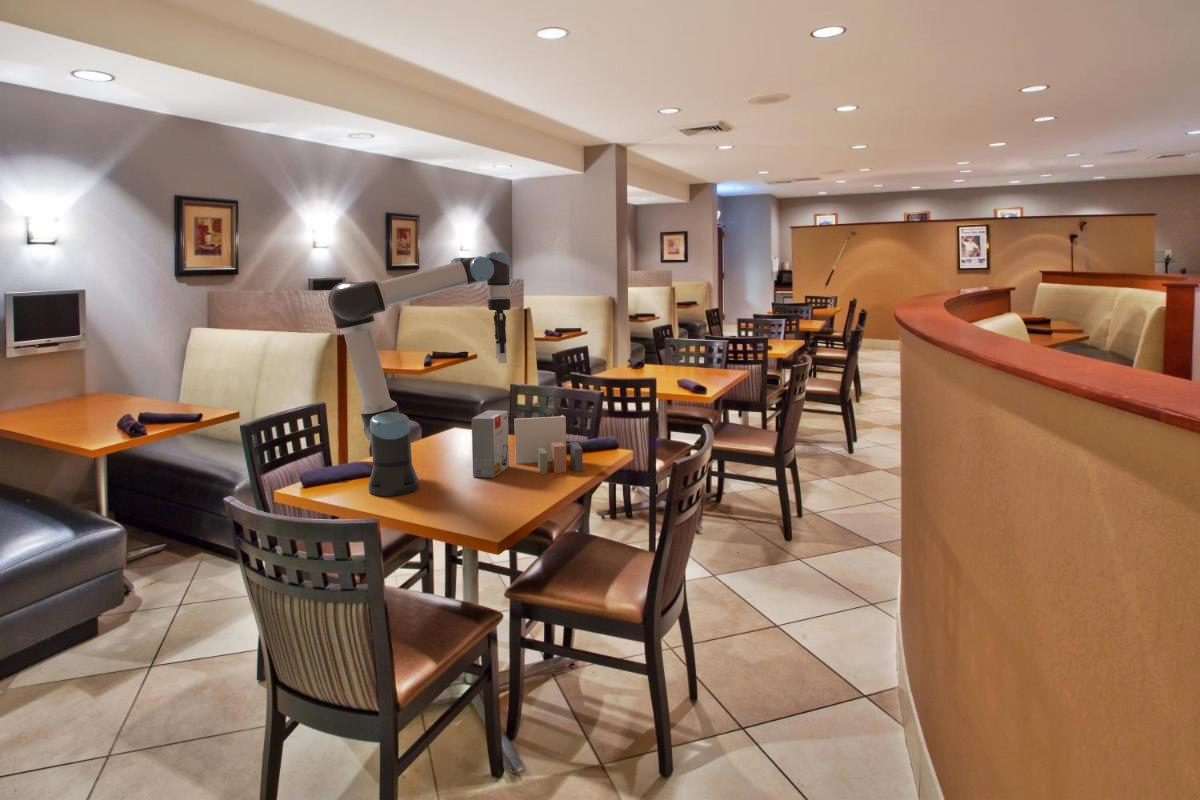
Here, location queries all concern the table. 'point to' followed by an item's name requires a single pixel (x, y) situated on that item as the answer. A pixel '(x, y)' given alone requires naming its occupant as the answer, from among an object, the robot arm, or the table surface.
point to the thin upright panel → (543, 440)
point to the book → (558, 457)
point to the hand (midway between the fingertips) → (501, 360)
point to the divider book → (542, 460)
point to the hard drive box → (490, 443)
